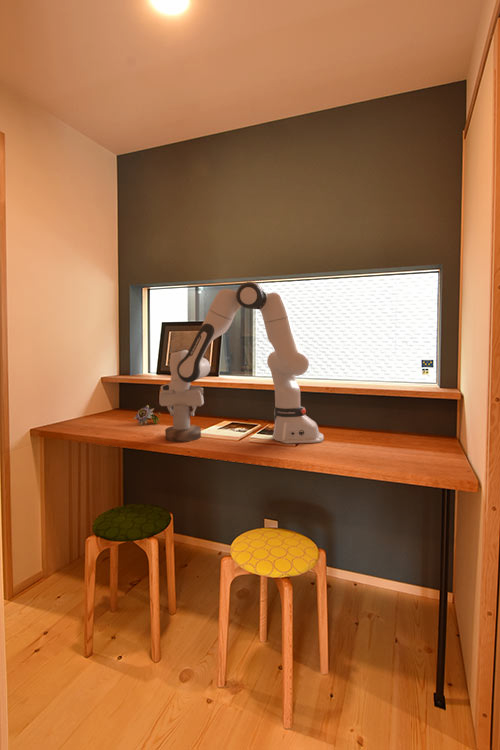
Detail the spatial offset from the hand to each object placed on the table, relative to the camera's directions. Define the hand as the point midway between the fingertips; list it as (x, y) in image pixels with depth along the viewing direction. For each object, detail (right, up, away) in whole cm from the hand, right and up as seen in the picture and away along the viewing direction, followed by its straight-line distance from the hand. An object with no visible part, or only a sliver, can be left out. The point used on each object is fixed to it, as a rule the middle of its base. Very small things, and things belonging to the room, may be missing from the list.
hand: (182, 415), depth 185 cm
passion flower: (-24, -8, +32) cm, 40 cm away
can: (0, -6, 0) cm, 6 cm away
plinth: (0, -10, +1) cm, 10 cm away
